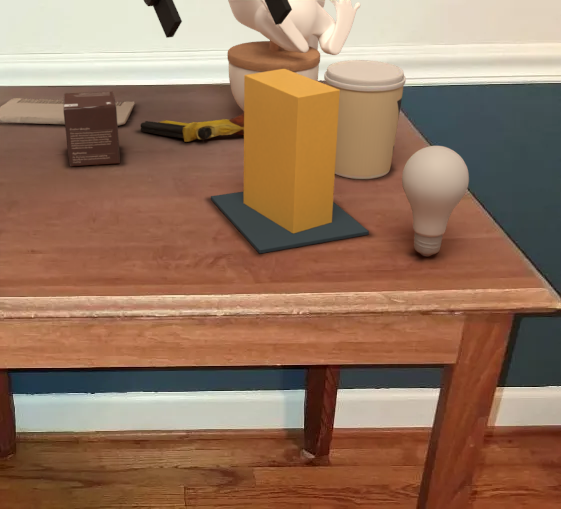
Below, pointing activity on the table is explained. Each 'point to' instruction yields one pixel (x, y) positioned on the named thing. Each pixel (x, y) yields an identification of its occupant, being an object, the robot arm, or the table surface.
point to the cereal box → (290, 148)
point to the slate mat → (275, 237)
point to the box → (91, 128)
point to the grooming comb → (48, 111)
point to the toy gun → (196, 128)
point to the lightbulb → (433, 193)
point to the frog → (299, 23)
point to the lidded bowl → (267, 63)
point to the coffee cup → (366, 116)
